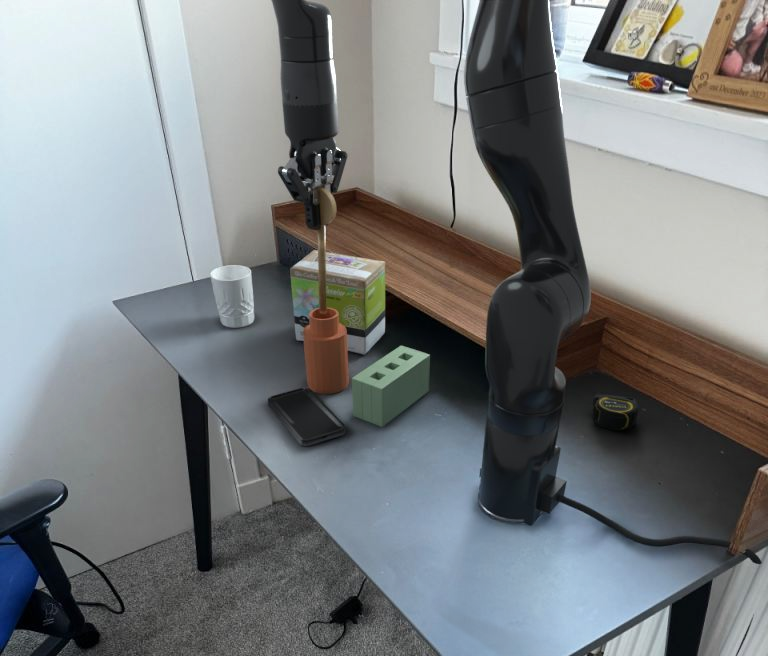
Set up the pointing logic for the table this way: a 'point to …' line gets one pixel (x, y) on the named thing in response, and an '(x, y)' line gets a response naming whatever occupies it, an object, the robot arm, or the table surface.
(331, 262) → the tea box
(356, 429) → the table surface
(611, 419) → the tape measure
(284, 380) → the table surface
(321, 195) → the tan flat rounded part
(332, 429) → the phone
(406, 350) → the holder
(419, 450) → the table surface
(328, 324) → the bottle
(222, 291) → the white cup
